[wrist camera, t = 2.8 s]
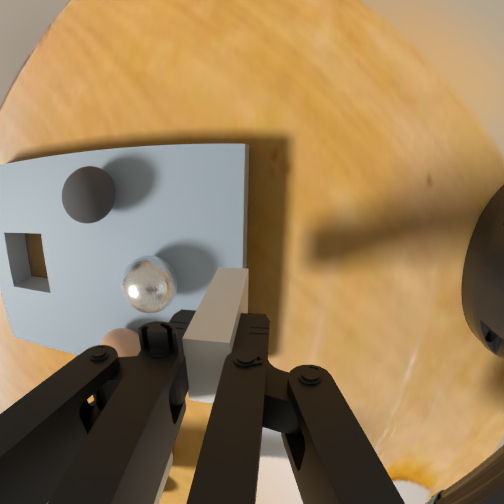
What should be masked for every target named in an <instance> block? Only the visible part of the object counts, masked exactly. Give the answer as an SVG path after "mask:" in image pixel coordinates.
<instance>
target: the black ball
mask: <svg viewBox="0 0 504 504" xmlns="http://www.w3.org/2000/svg"><path fill="white" fill-rule="evenodd" d="M115 198H116V189H115V185H114V182H113V180H112V178H111V177H110V175H109V174H108V173H107V172H106V171H104V170H103V169H101V168H98V167H94V166H86V167H82V168H79V169H77V170H75V171H74V172H73V173H72V174H71V175H70V176H69V177H68V178H67V180H66V181H65V183H64V186H63V189H62V203H63V207H64V209H65V211H66V212H67V214H68V215H69V216H70V217H71V218H72V219H74V220H75V221H78V222H80V223H86V224H89V223H95V222H98V221H100V220H101V219H103V218H104V217H106V216H107V215H108V213H109V212H110V211H111V209H112V207H113V205H114V202H115Z"/></svg>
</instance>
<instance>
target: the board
mask: <svg viewBox="0 0 504 504" xmlns="http://www.w3.org/2000/svg"><path fill="white" fill-rule="evenodd" d="M249 149H250V145H247V144H177V145H155V146H139V147H126V148H114V149H104V150H94V151H85V152H77V153H69V154H61V155H54V156H48V157H41V158H35V159H29V160H23V161H18V162H13V163H7V164H2V165H0V291H1V295H2V298H3V302H4V306H5V310H6V313H7V317H8V320H9V323H10V327H11V330H12V333H13V336H14V337H16V338H19V339H22V340H25V341H29V342H32V343H35V344H39V345H42V346H45V347H49V348H53V349H56V350H60V351H64V352H68V353H71V354H75V355H80V354H81V353H82V352H84V351H85V350H87V349H88V348H90V347H93V346H97V345H100V344H101V341H102V339H103V338H104V336H105V335H106V334H107V333H108V332H110V331H111V330H113V329H116V328H128V329H131V330H133V331H135V332H136V333H138V328H139V327H140V326H142V325H144V324H146V323H149V322H154V321H163V322H169V321H170V319H171V318H172V316H173V314H175V313H177V312H178V311H180V310H181V309H184V310H197V308H198V306H199V304H200V302H201V300H202V299H203V297H204V295H205V293H206V291H207V289H208V287H209V285H210V283H211V281H212V279H213V277H214V275H215V273H216V271H217V269H218V267H226V268H245V269H247V236H248V191H249ZM86 166H94V167H98V168H101V169H103V170H104V171H106V172H107V173H108V174H109V175H110V177H111V178H112V180H113V182H114V185H115V189H116V198H115V202H114V205H113V207H112V209H111V211H110V212H109V213H108V215H107V216H106V217H104V218H103V219H101V220H100V221H98V222H95V223H89V224H86V223H80V222H78V221H75V220H74V219H72V218H71V217H70V216H69V215H68V214H67V212H66V211H65V209H64V207H63V203H62V189H63V186H64V183H65V181H66V180H67V178H68V177H69V176H70V175H71V174H72V173H73V172H74V171H75V170H77V169H79V168H82V167H86ZM25 233H38V234H41V238H42V245H43V252H44V258H45V264H46V270H47V276H48V278H43V277H36V276H32V274H31V269H30V264H29V258H28V252H27V245H26V238H25ZM148 255H150V256H156V257H159V258H162V259H163V260H165V261H166V262H167V263H169V264H170V266H171V267H172V268H173V270H174V272H175V274H176V277H177V282H178V288H177V293H176V296H175V298H174V300H173V301H172V303H171V304H170V305H169V306H168V307H167V308H165V309H164V310H162V311H160V312H157V313H143V312H140V311H138V310H136V309H134V308H133V307H131V306H130V305H129V304H128V302H127V301H126V299H125V298H124V296H123V293H122V289H121V279H122V275H123V272H124V270H125V269H126V267H127V266H128V265H129V264H130V263H131V262H132V261H133V260H135V259H136V258H138V257H142V256H148Z"/></svg>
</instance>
